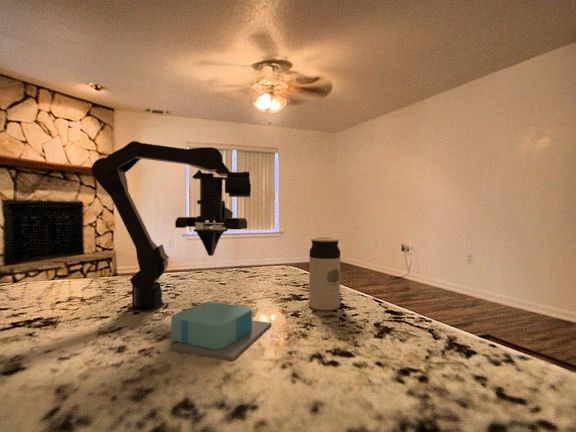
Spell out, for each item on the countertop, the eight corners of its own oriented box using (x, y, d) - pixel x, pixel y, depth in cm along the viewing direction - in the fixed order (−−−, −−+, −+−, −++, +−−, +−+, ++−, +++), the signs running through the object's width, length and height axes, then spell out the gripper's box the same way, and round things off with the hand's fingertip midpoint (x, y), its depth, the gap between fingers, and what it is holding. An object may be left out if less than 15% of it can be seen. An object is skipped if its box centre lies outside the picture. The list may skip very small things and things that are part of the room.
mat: (170, 350, 61) (170, 346, 61) (220, 319, 78) (220, 316, 78) (233, 360, 57) (233, 356, 57) (271, 325, 74) (271, 322, 74)
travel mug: (304, 303, 91) (305, 237, 91) (331, 301, 94) (332, 236, 93) (316, 312, 84) (316, 239, 83) (345, 309, 86) (345, 239, 86)
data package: (167, 339, 64) (218, 351, 59) (167, 316, 64) (219, 326, 59) (208, 321, 75) (254, 329, 70) (208, 300, 75) (255, 308, 70)
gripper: (255, 197, 94) (255, 253, 95) (197, 197, 100) (197, 250, 100) (237, 196, 84) (237, 259, 84) (174, 196, 89) (173, 255, 90)
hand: (210, 255), depth 90 cm, fingers closed
